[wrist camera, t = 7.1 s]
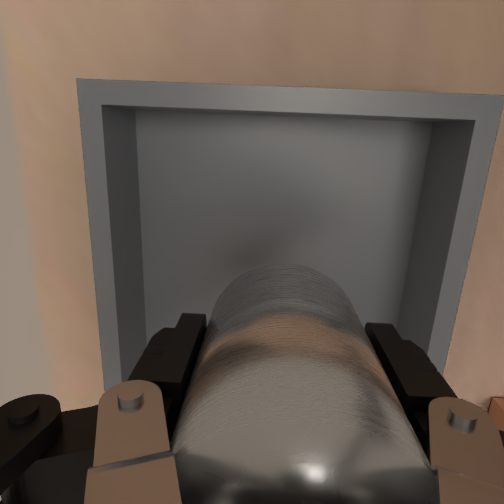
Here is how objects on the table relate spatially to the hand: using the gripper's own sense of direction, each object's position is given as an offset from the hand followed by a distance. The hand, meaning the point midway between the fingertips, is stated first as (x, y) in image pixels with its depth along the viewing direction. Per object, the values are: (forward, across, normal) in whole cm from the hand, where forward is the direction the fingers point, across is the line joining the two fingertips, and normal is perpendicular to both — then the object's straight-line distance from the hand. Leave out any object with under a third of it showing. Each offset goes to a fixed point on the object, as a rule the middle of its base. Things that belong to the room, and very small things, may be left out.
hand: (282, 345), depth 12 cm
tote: (+12, 0, +4) cm, 12 cm away
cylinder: (+1, 0, 0) cm, 1 cm away
